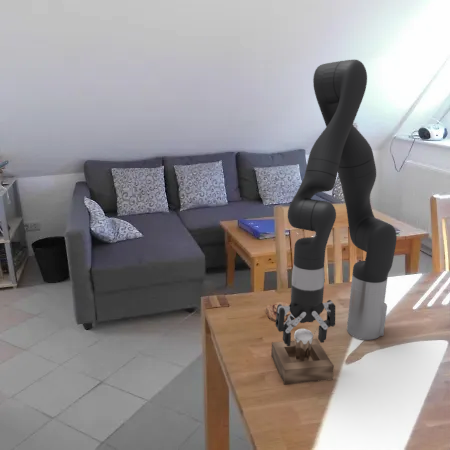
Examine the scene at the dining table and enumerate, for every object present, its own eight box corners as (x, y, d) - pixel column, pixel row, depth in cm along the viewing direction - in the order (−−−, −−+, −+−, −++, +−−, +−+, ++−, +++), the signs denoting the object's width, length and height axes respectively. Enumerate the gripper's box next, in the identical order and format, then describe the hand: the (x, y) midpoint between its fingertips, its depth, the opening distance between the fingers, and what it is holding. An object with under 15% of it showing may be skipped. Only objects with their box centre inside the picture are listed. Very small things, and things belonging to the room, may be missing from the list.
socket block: (315, 352, 128) (316, 338, 127) (332, 379, 117) (333, 365, 115) (271, 355, 126) (271, 342, 125) (284, 384, 115) (284, 369, 113)
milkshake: (313, 370, 118) (316, 334, 115) (291, 367, 120) (294, 331, 116) (314, 359, 123) (317, 324, 120) (293, 357, 124) (295, 322, 121)
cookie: (297, 326, 141) (297, 317, 140) (261, 320, 144) (262, 311, 143) (302, 311, 150) (303, 302, 149) (269, 305, 153) (269, 297, 152)
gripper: (330, 273, 118) (326, 332, 124) (274, 277, 116) (272, 337, 121) (342, 286, 111) (337, 348, 117) (283, 291, 109) (280, 354, 114)
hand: (304, 342), depth 119 cm, fingers open, 8 cm apart
